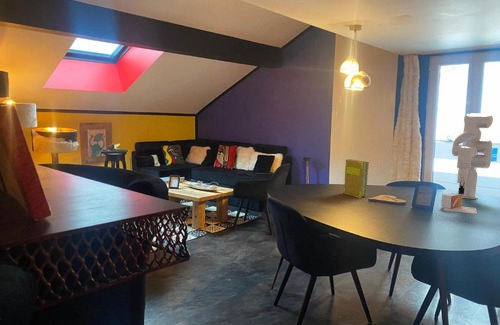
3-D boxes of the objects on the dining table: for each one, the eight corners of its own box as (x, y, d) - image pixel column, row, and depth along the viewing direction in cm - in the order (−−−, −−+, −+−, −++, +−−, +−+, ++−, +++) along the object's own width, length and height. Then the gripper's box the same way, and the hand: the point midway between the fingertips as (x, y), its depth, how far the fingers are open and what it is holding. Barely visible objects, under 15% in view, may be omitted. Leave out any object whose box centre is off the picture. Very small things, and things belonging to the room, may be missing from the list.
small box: (461, 206, 245) (450, 208, 238) (452, 204, 251) (440, 206, 244) (462, 194, 245) (451, 196, 237) (453, 192, 250) (441, 194, 243)
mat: (444, 205, 251) (444, 204, 251) (476, 209, 243) (476, 208, 243) (443, 210, 237) (443, 209, 237) (477, 214, 229) (477, 213, 229)
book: (366, 196, 271) (368, 161, 268) (360, 197, 267) (362, 162, 264) (348, 192, 285) (350, 159, 281) (341, 193, 281) (343, 159, 278)
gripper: (457, 164, 254) (454, 191, 256) (457, 166, 241) (454, 195, 243) (470, 165, 250) (467, 192, 252) (470, 167, 237) (467, 196, 239)
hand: (461, 193), depth 248 cm, fingers closed
